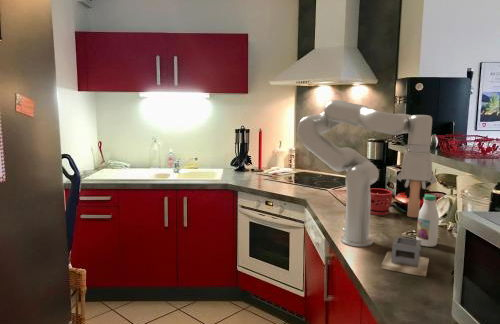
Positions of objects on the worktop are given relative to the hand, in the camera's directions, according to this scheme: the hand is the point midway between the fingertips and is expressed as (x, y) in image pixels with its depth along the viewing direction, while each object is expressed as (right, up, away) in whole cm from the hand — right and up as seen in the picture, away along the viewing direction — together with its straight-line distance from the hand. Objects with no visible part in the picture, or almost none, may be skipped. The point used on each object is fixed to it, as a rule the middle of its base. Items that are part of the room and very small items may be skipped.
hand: (414, 197), depth 149 cm
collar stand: (-7, -23, -9) cm, 25 cm away
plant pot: (+5, -14, +59) cm, 60 cm away
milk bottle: (+10, -20, +13) cm, 26 cm away
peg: (0, -7, +1) cm, 7 cm away
